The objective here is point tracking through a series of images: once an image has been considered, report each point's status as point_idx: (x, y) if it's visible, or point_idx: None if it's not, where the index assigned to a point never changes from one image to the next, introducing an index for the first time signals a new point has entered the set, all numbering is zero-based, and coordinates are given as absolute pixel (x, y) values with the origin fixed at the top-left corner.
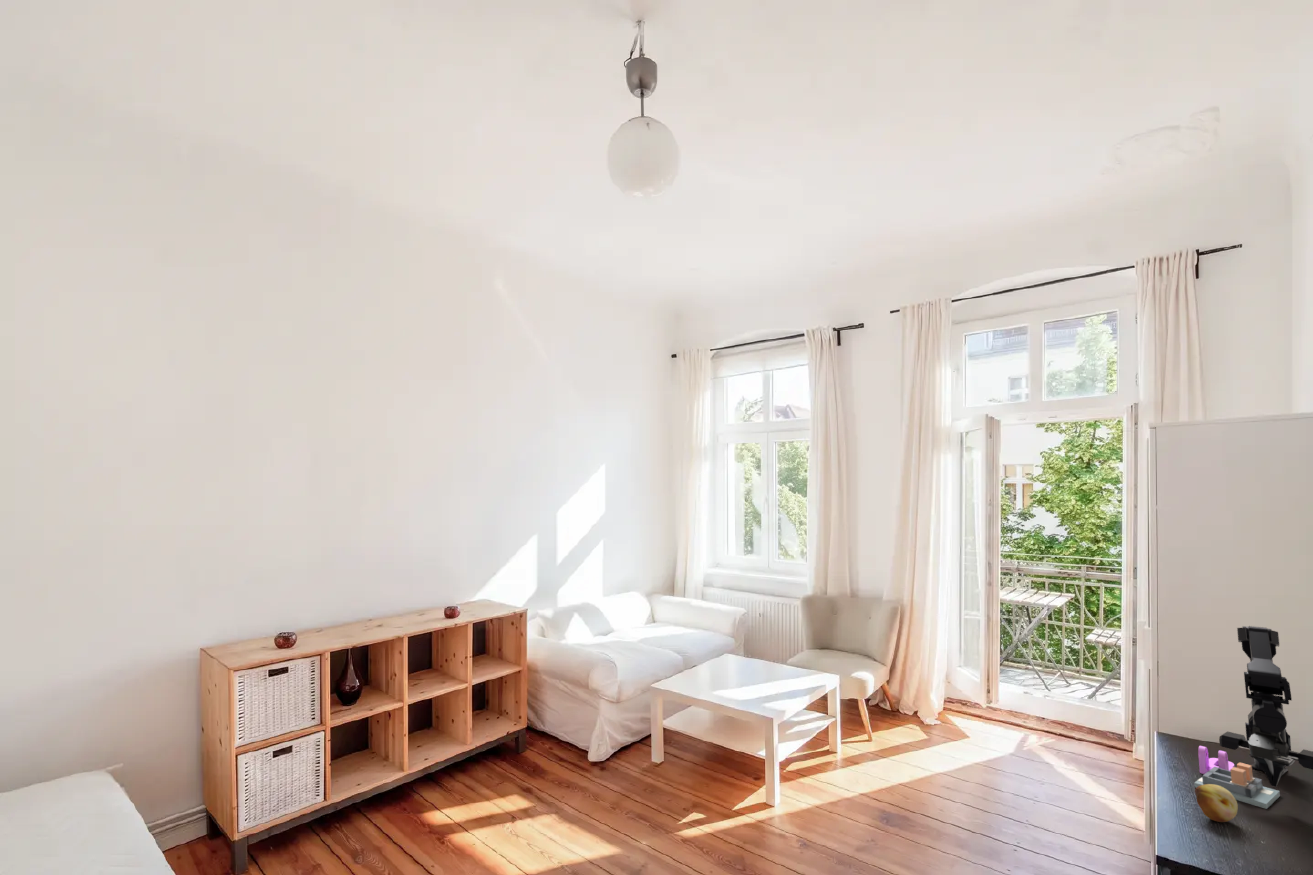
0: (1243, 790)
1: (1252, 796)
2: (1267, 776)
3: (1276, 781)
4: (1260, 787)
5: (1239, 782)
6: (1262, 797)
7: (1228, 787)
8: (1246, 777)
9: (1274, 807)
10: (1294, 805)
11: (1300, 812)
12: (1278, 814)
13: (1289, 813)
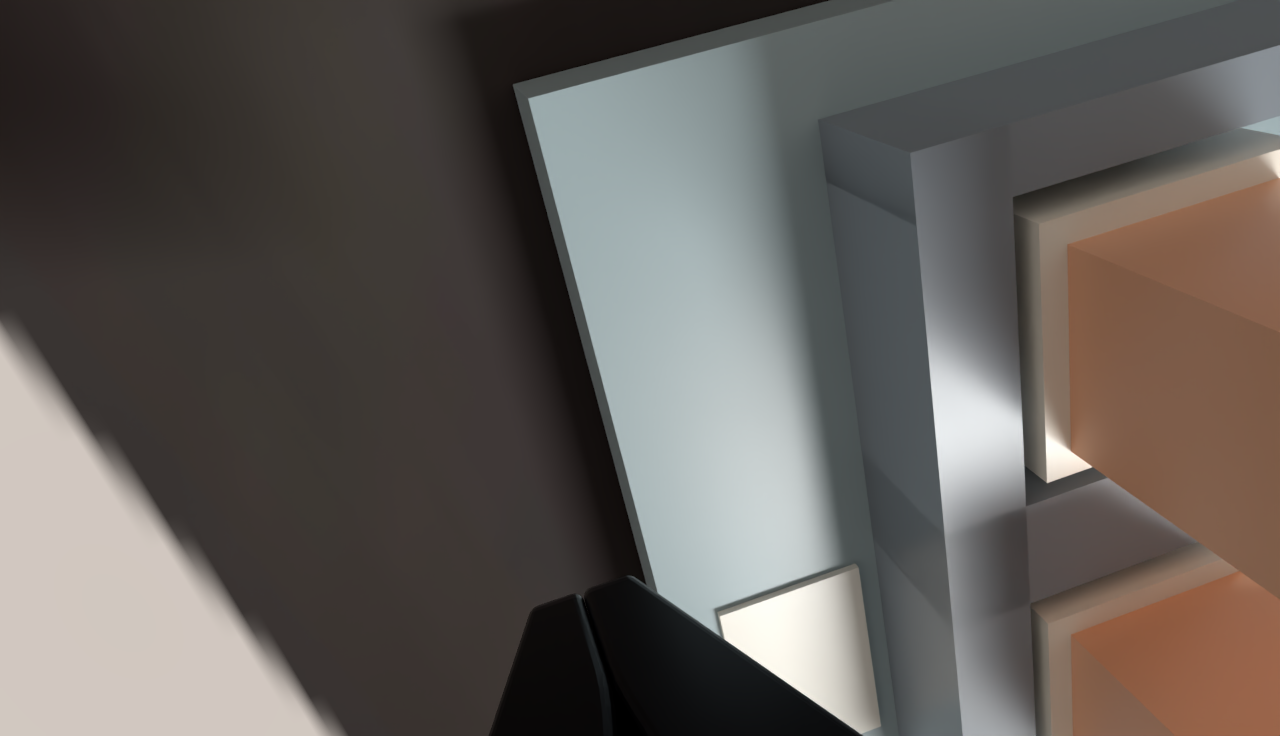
0: (998, 106)
1: (833, 221)
2: (785, 698)
3: (513, 723)
4: (906, 698)
5: (1176, 228)
6: (729, 378)
7: (1226, 21)
8: (1151, 641)
9: (502, 318)
10: (437, 712)
11: (214, 550)
12: (257, 19)
13: (234, 310)
